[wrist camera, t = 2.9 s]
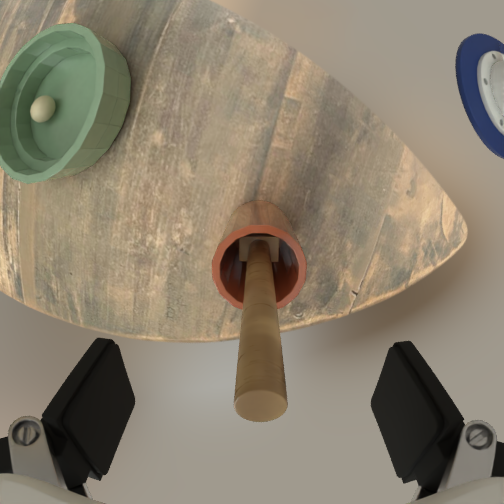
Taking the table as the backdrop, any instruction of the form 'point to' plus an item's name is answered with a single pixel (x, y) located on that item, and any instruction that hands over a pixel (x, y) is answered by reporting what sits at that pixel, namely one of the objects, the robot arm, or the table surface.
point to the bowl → (62, 103)
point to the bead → (42, 108)
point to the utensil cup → (234, 271)
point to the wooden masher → (260, 335)
